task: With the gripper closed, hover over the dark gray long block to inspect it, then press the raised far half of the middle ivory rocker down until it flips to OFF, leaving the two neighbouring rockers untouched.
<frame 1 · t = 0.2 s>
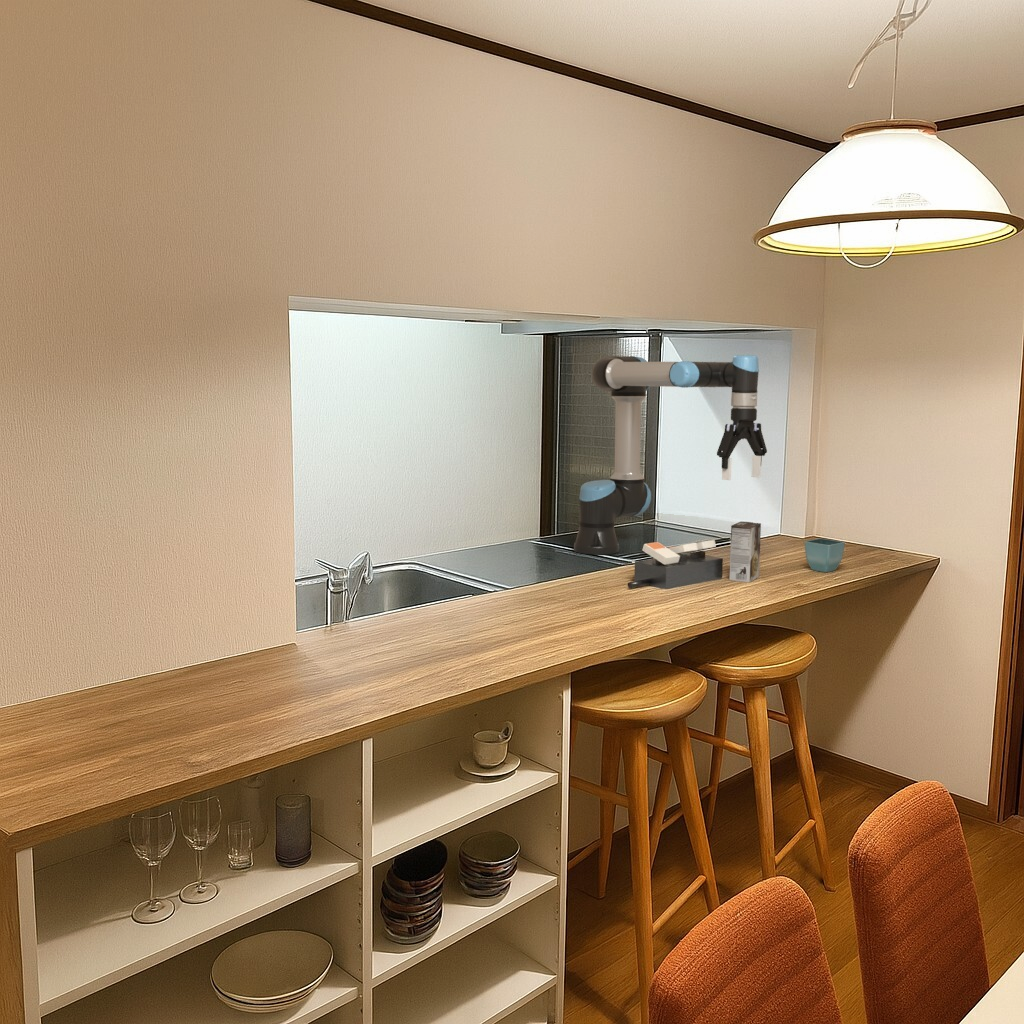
hand: (741, 478, 294), 28 cm above the counter, fingers open, 13 cm apart
dark gray long block: (678, 580, 281), on the counter
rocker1: (661, 552, 274), point 9 cm above the counter, hinge at 18.0°
coffee box: (744, 579, 284), on the counter
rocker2: (678, 549, 280), point 9 cm above the counter, hinge at -18.0°
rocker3: (697, 546, 285), point 9 cm above the counter, hinge at -18.0°
flower pot: (823, 571, 296), on the counter
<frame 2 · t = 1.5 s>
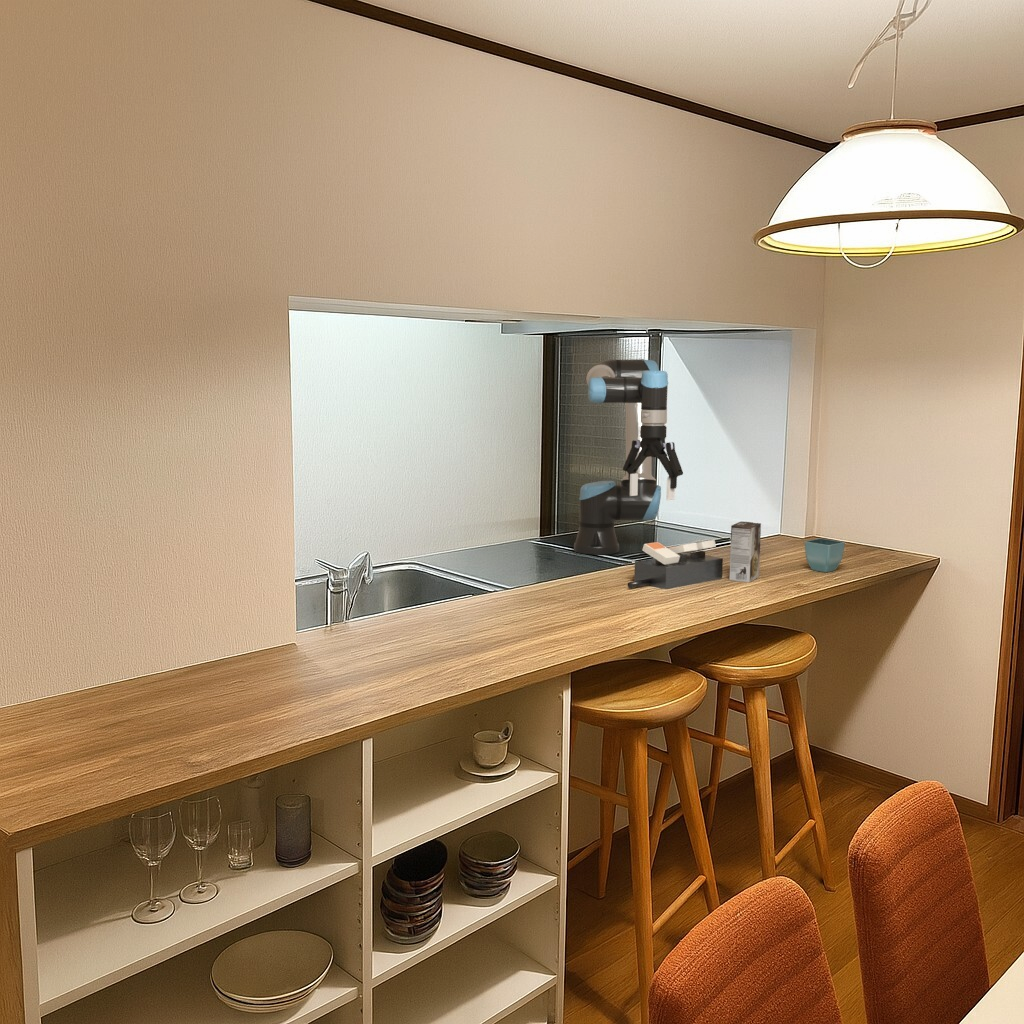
hand: (651, 497, 285), 23 cm above the counter, fingers open, 13 cm apart
nothing on the counter moved.
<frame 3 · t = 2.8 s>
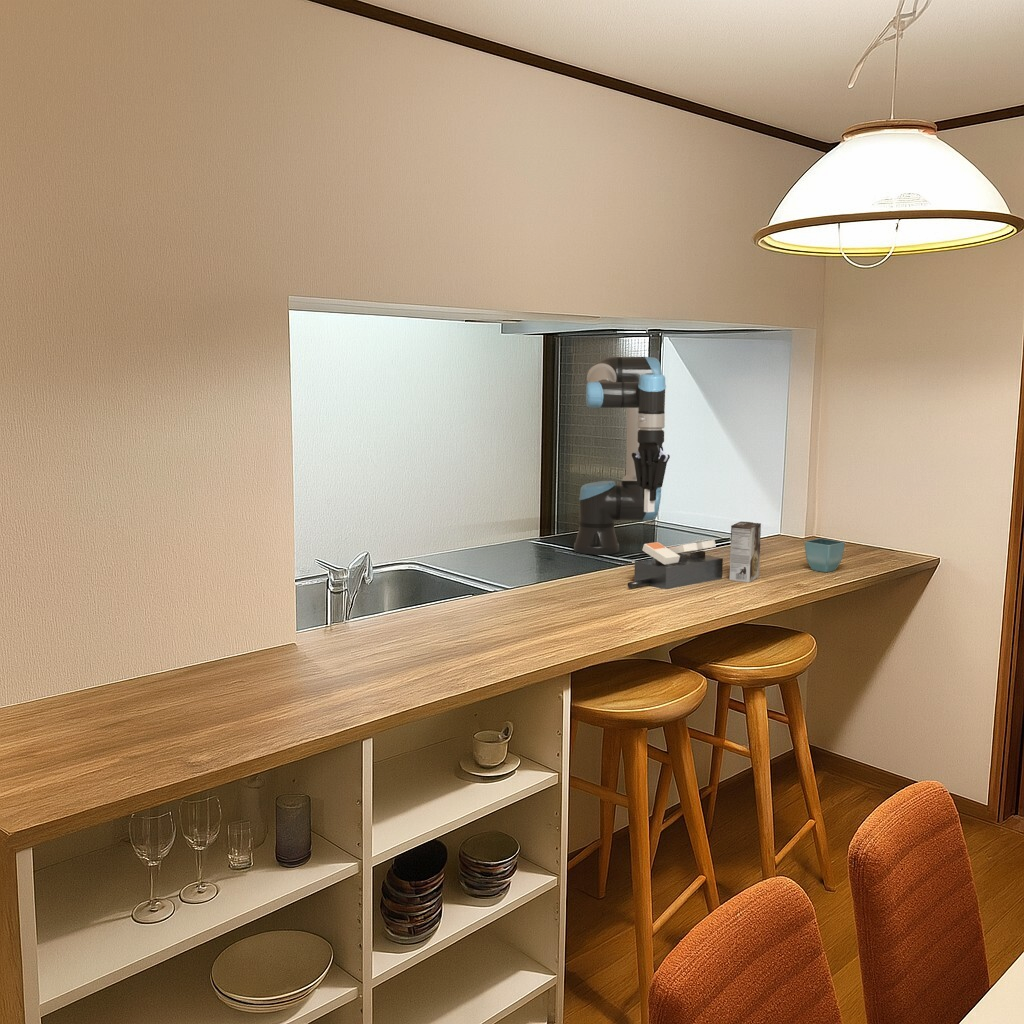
hand: (649, 511, 280), 20 cm above the counter, fingers closed
nothing on the counter moved.
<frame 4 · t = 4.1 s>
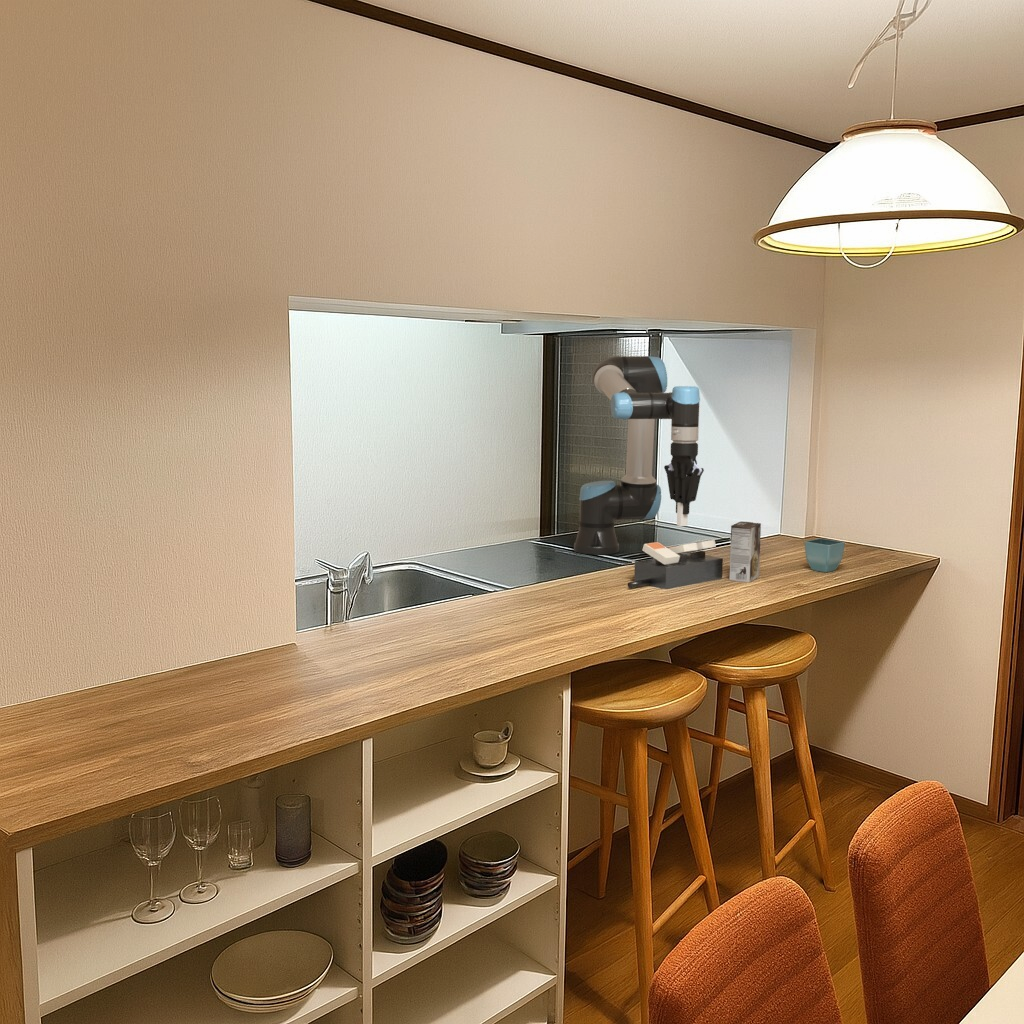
hand: (682, 525, 275), 16 cm above the counter, fingers closed
nothing on the counter moved.
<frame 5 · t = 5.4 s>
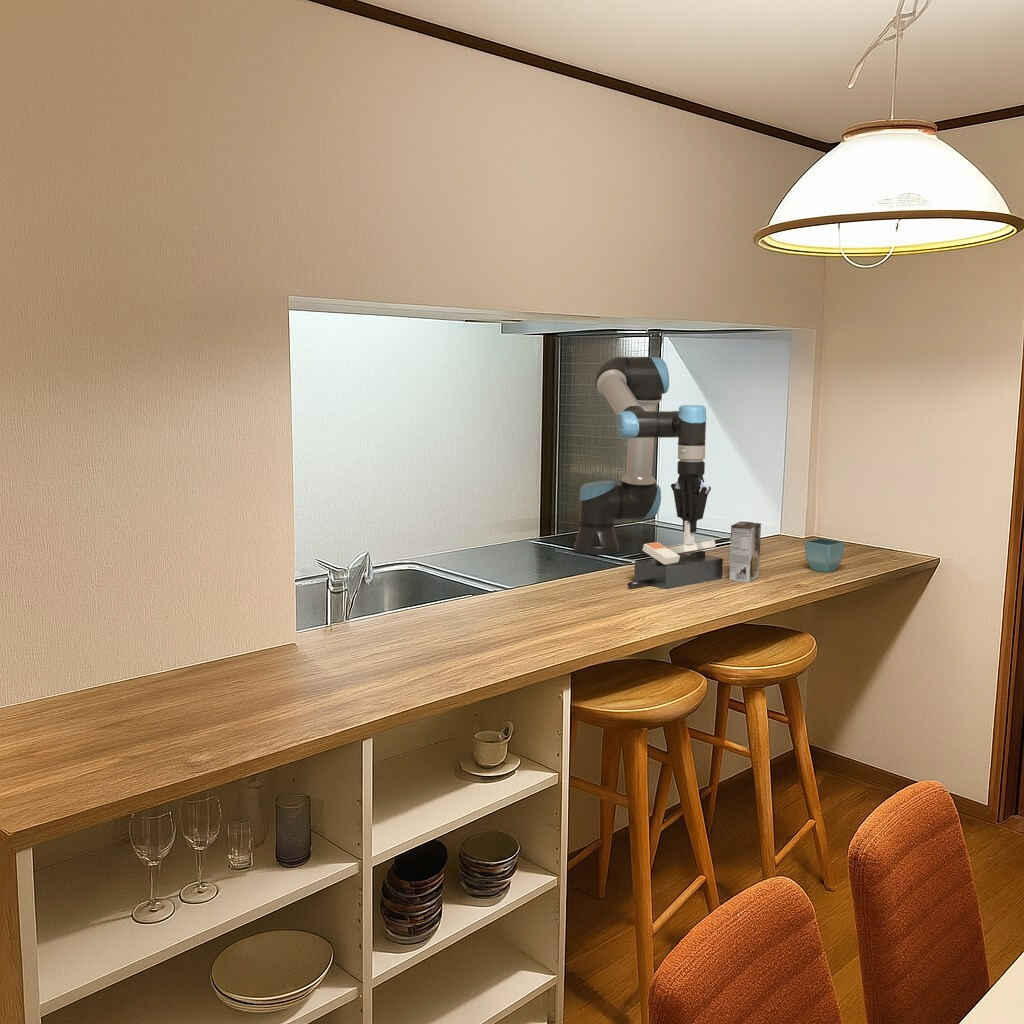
hand: (689, 543, 277), 11 cm above the counter, fingers closed
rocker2: (678, 549, 280), point 9 cm above the counter, hinge at -17.2°, touching gripper
everything else where it was.
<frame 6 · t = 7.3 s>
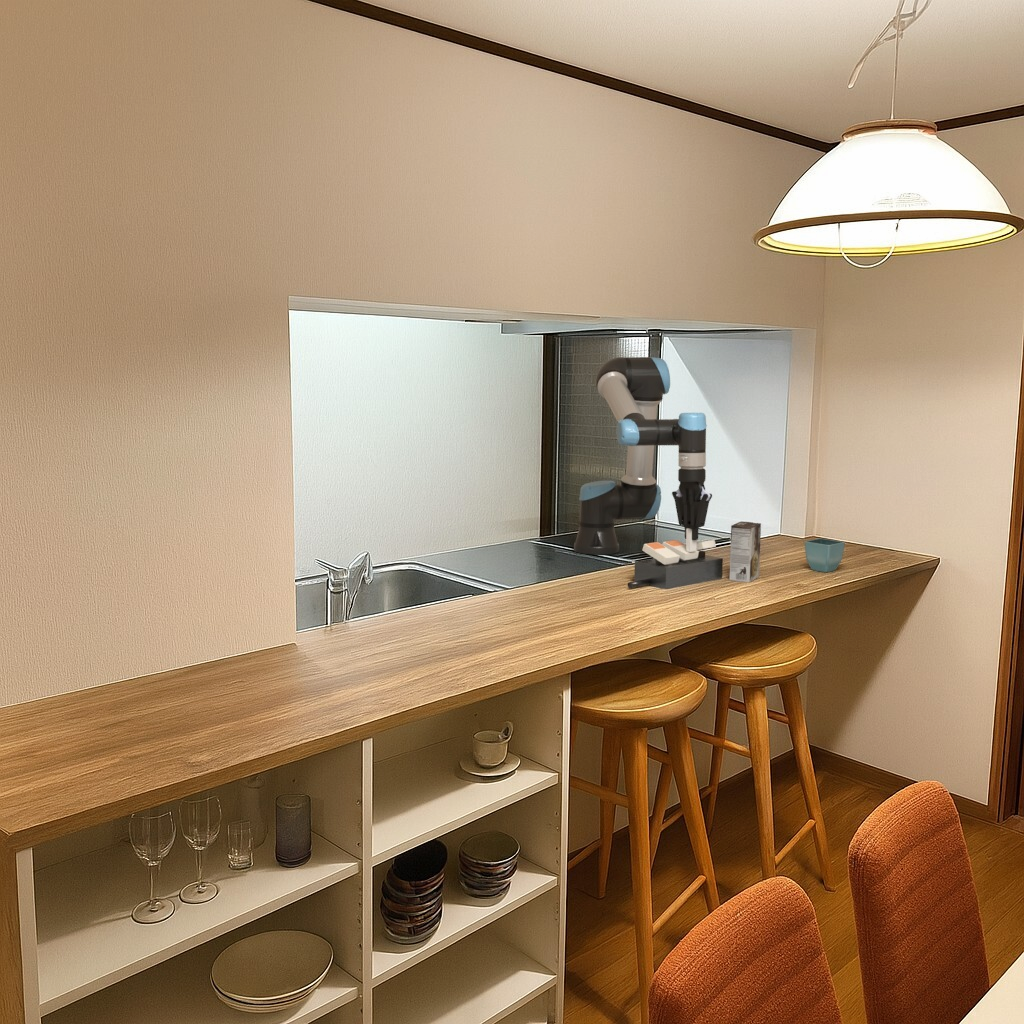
hand: (691, 551, 276), 9 cm above the counter, fingers closed
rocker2: (680, 549, 279), point 9 cm above the counter, hinge at 14.1°, touching gripper
everything else where it was.
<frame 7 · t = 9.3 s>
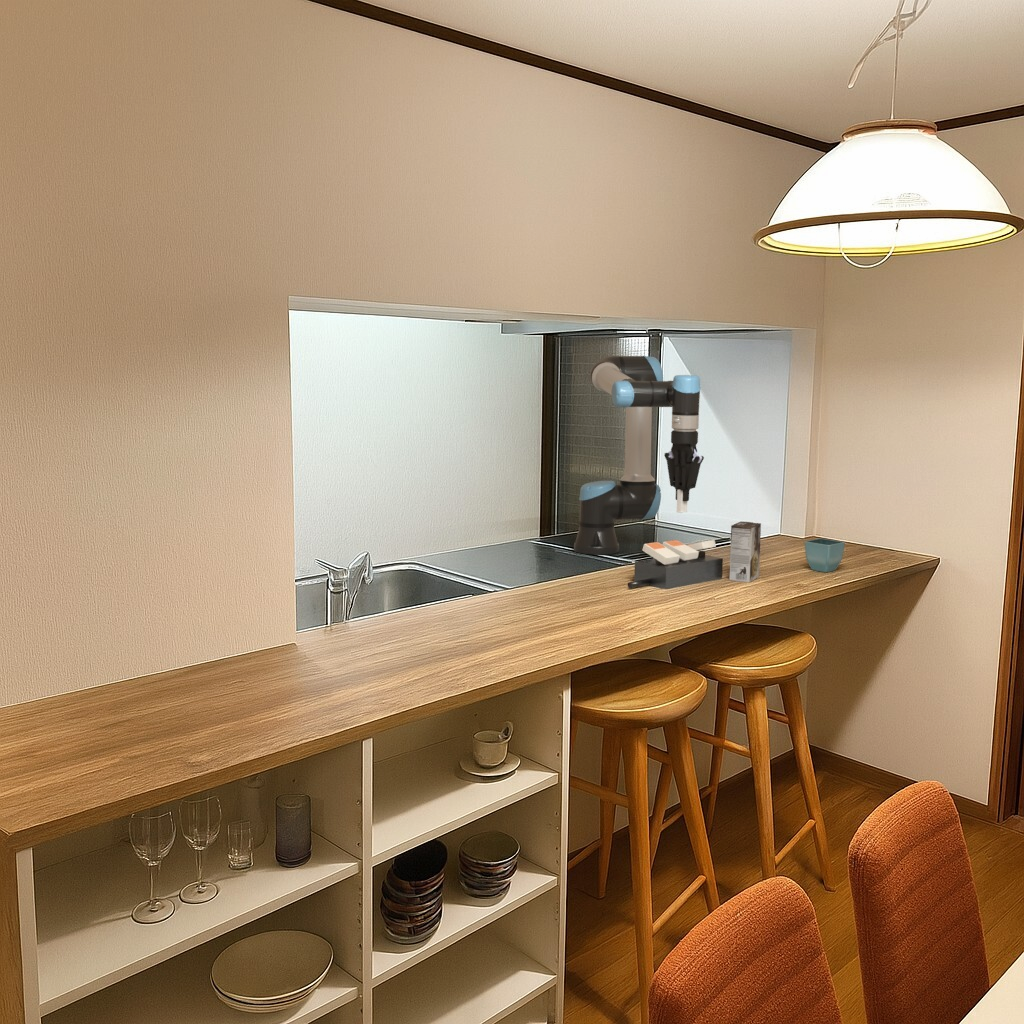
hand: (681, 511, 281), 20 cm above the counter, fingers closed
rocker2: (680, 549, 279), point 9 cm above the counter, hinge at 14.5°
everything else where it was.
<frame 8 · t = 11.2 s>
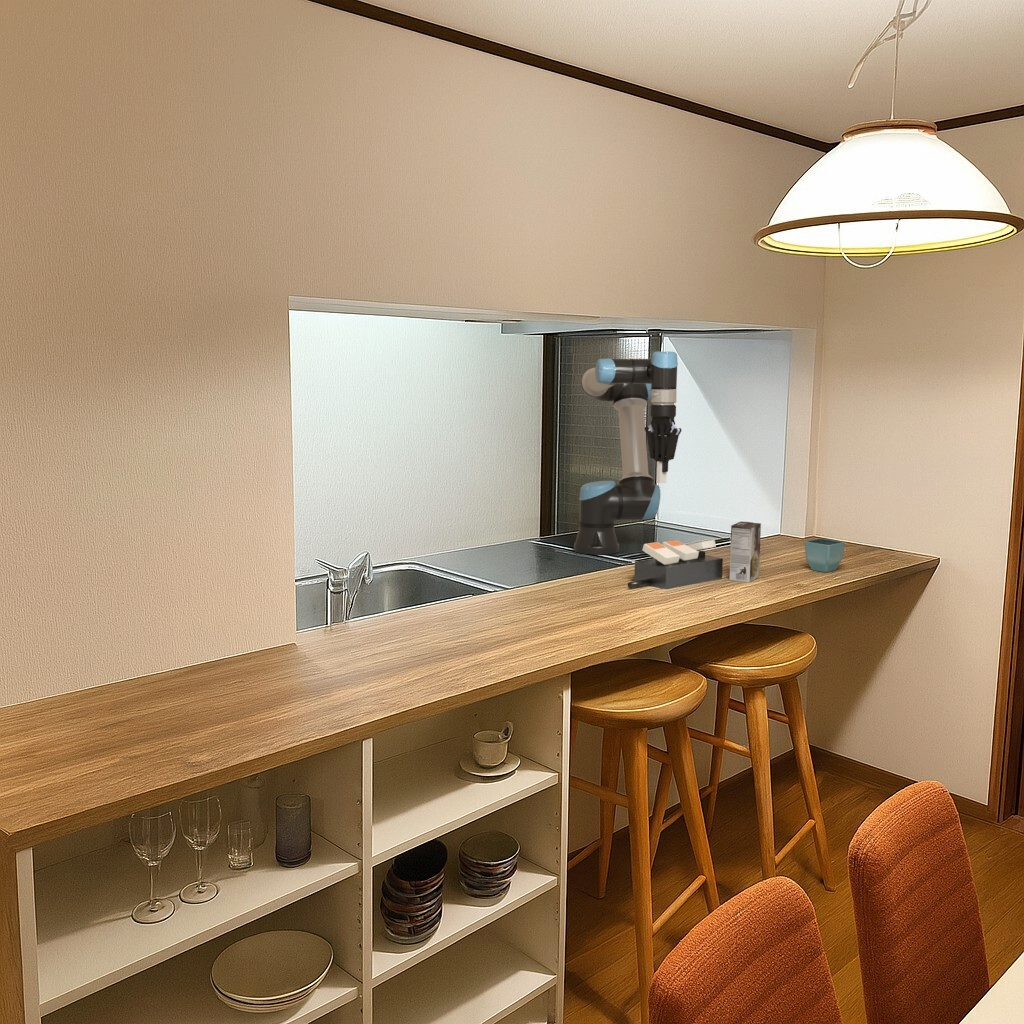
hand: (661, 482, 294), 26 cm above the counter, fingers closed
nothing on the counter moved.
at the end: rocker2 at +14° (first picture: -18°); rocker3 at -18° (first picture: -18°); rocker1 at +18° (first picture: +18°) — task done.
